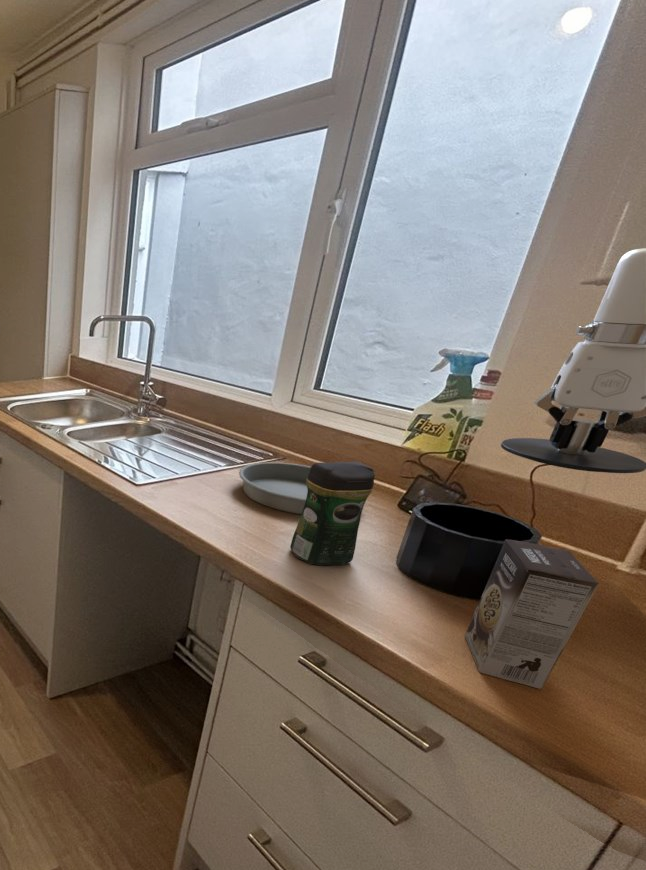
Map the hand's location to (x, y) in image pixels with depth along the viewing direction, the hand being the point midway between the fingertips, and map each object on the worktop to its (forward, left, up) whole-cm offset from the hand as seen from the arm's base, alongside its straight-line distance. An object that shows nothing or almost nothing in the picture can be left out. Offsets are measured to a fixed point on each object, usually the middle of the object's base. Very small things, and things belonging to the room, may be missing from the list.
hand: (572, 447), depth 88 cm
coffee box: (+11, +38, -22) cm, 45 cm away
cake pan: (+37, -13, -22) cm, 45 cm away
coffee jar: (+32, +17, -22) cm, 42 cm away
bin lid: (0, 0, -2) cm, 2 cm away
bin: (+12, +13, -22) cm, 28 cm away
